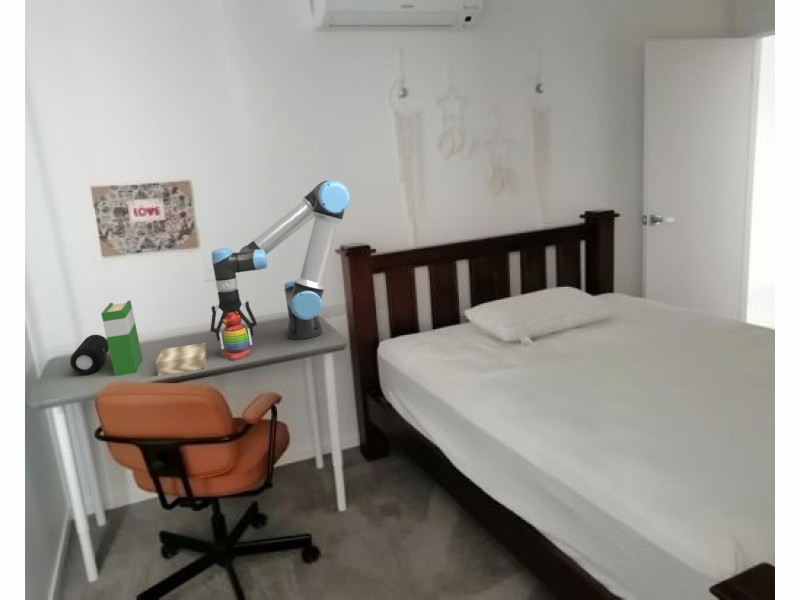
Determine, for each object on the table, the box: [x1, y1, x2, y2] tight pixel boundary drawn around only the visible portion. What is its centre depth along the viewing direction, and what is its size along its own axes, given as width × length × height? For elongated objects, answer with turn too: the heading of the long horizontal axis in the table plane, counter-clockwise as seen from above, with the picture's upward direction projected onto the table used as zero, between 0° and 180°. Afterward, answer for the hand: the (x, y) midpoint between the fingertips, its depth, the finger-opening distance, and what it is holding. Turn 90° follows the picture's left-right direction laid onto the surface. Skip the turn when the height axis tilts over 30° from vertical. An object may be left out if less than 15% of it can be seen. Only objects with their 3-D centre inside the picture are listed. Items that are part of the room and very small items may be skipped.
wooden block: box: [155, 342, 208, 377], centre depth 225 cm, size 16×17×5 cm
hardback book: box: [100, 300, 143, 377], centre depth 227 cm, size 18×7×24 cm, turn 16°
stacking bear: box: [221, 311, 252, 361], centre depth 229 cm, size 11×10×18 cm
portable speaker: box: [70, 334, 109, 375], centre depth 235 cm, size 26×10×10 cm, turn 16°
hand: (237, 346), depth 231 cm, fingers open, 10 cm apart
